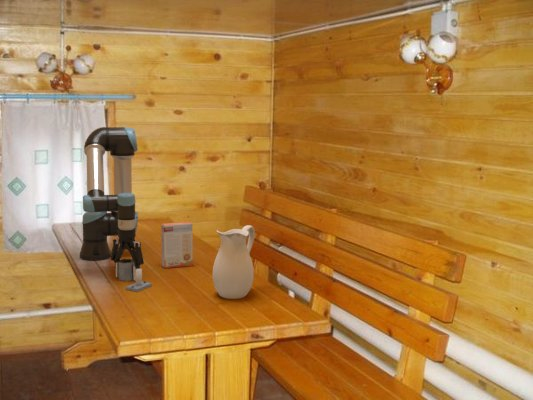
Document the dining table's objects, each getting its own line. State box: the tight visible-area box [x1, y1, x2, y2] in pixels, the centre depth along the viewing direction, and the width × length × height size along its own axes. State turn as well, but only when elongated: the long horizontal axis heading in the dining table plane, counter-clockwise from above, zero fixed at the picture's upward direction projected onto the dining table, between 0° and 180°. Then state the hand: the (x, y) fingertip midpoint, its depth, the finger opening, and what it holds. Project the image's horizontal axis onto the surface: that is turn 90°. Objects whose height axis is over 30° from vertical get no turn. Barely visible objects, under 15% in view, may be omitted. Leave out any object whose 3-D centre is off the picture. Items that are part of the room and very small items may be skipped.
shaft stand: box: [125, 268, 153, 293], centre depth 269 cm, size 6×10×8 cm, turn 152°
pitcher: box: [212, 224, 256, 300], centre depth 264 cm, size 24×17×28 cm
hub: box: [118, 258, 135, 282], centre depth 282 cm, size 7×7×8 cm
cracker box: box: [160, 221, 194, 269], centre depth 304 cm, size 14×6×21 cm, turn 113°
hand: (127, 278), depth 283 cm, fingers open, 9 cm apart
